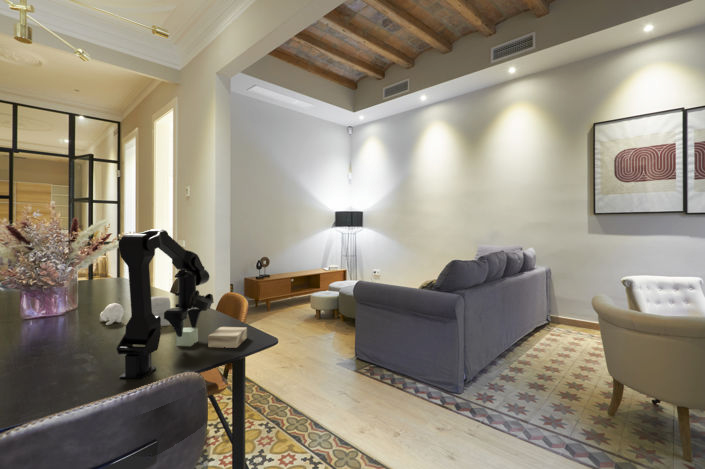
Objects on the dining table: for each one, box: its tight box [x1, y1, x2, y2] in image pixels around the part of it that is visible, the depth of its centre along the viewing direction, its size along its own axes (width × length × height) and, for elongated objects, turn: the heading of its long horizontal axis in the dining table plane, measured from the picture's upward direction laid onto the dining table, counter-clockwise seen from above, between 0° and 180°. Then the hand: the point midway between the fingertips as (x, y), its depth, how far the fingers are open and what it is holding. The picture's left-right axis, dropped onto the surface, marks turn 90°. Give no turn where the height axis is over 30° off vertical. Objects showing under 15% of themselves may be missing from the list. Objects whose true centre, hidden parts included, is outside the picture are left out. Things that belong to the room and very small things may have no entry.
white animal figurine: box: [99, 302, 125, 326], centre depth 141 cm, size 6×8×12 cm
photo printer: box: [151, 295, 171, 327], centre depth 136 cm, size 10×4×12 cm, turn 123°
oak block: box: [207, 326, 248, 349], centre depth 119 cm, size 10×10×4 cm
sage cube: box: [176, 326, 199, 347], centre depth 117 cm, size 5×5×5 cm
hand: (187, 332), depth 117 cm, fingers open, 9 cm apart
